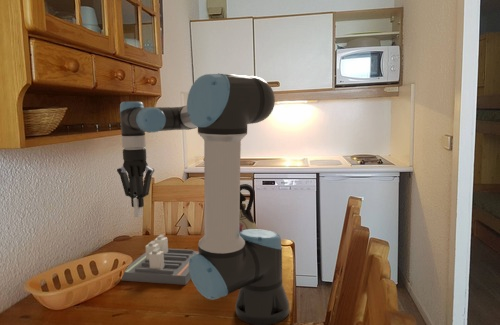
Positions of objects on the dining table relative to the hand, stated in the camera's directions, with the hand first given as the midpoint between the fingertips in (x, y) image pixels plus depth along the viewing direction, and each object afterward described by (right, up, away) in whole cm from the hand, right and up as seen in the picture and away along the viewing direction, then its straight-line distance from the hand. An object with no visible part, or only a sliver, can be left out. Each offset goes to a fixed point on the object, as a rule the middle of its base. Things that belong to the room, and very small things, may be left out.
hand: (138, 216), depth 127 cm
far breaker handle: (+4, -17, +16) cm, 23 cm away
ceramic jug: (+36, -19, +14) cm, 43 cm away
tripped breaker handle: (+6, -18, +1) cm, 20 cm away
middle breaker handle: (+3, -18, +9) cm, 20 cm away
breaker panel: (+8, -21, +8) cm, 24 cm away
